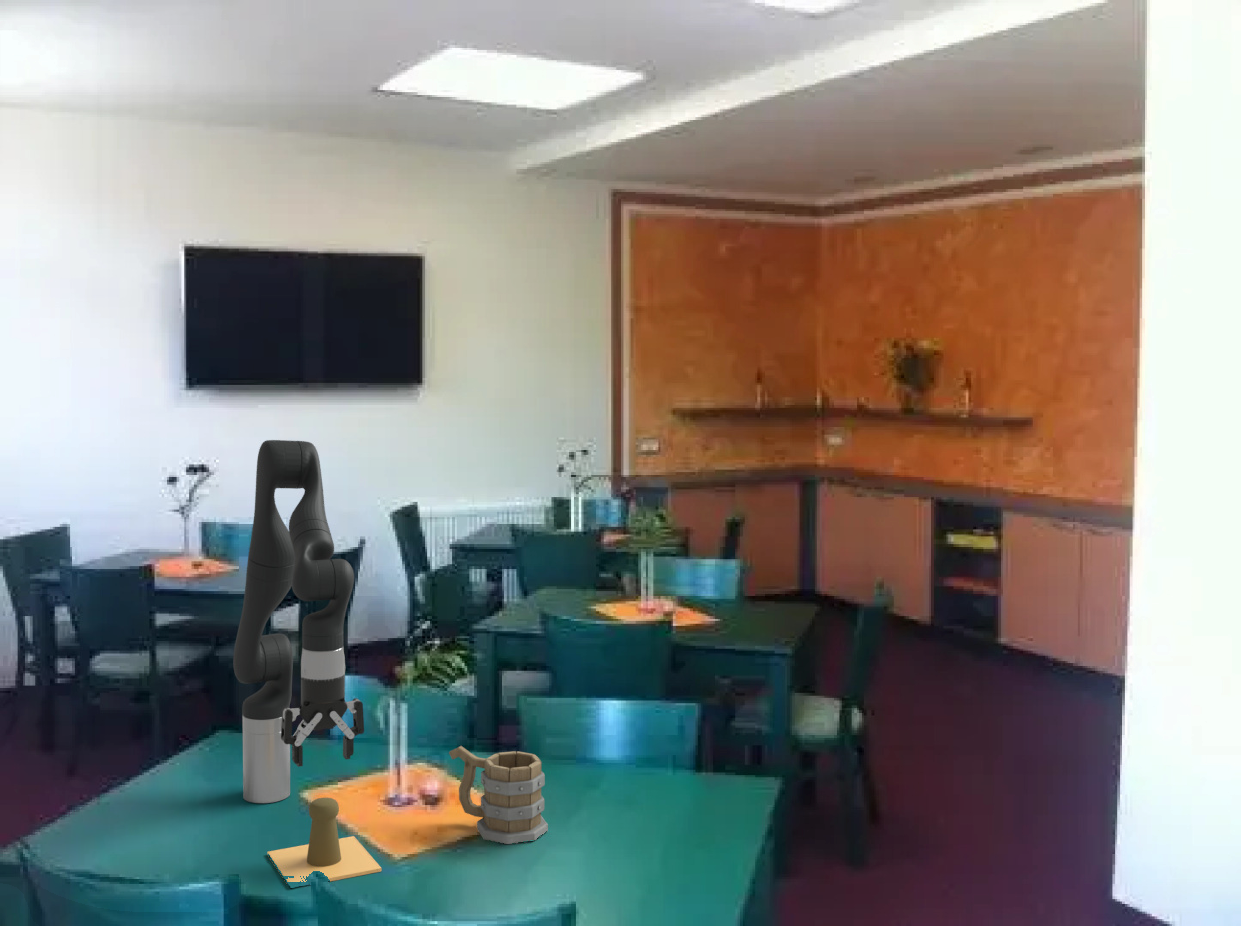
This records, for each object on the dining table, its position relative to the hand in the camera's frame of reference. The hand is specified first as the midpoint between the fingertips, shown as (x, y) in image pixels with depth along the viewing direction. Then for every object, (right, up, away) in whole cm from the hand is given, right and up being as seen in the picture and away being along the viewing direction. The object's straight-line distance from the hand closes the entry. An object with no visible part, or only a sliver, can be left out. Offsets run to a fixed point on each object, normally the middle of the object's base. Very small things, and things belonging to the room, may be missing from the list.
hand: (322, 761), depth 221 cm
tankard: (+29, -18, +20) cm, 39 cm away
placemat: (0, -19, +2) cm, 19 cm away
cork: (0, -18, +2) cm, 18 cm away
